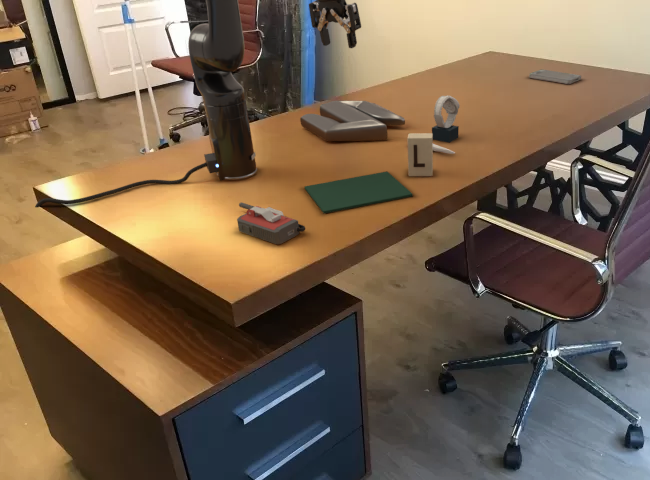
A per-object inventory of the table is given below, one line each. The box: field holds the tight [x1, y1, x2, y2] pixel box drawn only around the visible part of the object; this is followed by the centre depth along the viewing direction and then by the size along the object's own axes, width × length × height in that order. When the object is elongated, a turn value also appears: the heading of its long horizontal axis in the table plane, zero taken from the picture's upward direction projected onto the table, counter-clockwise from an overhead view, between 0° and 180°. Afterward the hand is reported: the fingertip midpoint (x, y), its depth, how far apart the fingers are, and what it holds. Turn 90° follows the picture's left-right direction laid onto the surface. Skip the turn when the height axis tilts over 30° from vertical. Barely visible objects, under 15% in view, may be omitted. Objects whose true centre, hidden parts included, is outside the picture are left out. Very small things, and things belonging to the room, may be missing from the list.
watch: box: [431, 95, 461, 143], centre depth 170 cm, size 6×8×11 cm
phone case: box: [528, 69, 582, 85], centre depth 221 cm, size 8×16×1 cm, turn 47°
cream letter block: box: [406, 132, 434, 177], centre depth 150 cm, size 6×4×9 cm
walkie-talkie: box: [236, 202, 306, 245], centre depth 129 cm, size 9×4×20 cm
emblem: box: [299, 100, 406, 142], centre depth 181 cm, size 28×5×28 cm
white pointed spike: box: [433, 143, 456, 155], centre depth 164 cm, size 15×3×2 cm, turn 47°
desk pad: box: [304, 171, 414, 215], centre depth 144 cm, size 20×15×1 cm
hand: (339, 46), depth 167 cm, fingers open, 8 cm apart
